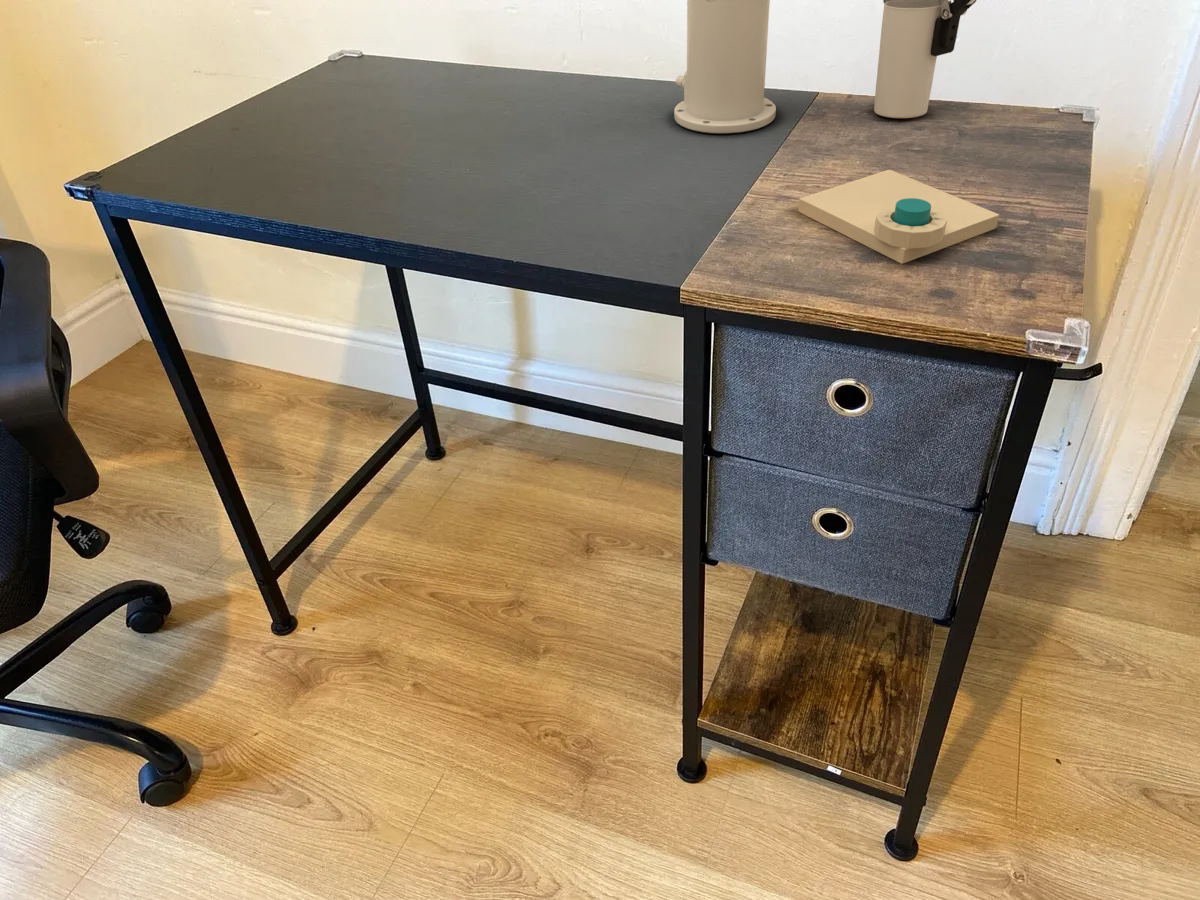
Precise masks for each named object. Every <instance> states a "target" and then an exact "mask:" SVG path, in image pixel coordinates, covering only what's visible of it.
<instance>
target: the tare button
mask: <svg viewBox="0 0 1200 900" xmlns="http://www.w3.org/2000/svg"><path fill="white" fill-rule="evenodd" d="M930 211H931V204H930V203H929V202H927V201H925V200H922V199H916V198H907V199H902V200H899V201H898V202H897V203H896V207H895V213H894V219H893V220H894V222H896V223H898V224H900V225H906V226H912V227H913V226H924V225H926V224H928V222H929V217H930Z"/></svg>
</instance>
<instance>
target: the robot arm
mask: <svg viewBox="0 0 1200 900" xmlns="http://www.w3.org/2000/svg"><path fill="white" fill-rule="evenodd" d="M888 1H892V0H882V3H883V5H884V4H885V3H886V2H888ZM770 2H771V0H686V71H685V72H684V74H683V75H678V76H677V77H676V79H675V85H676V86H677V87H679V88H681V89H683V100H682V101H680V102H678V103H677V105H675V107H674V109H673V115H674V116H673V118H674V120H675V122H676V123H677V124H678V125H680V126H681V127H683V128H685V129H687V130H691V131H695V132H699V133H705V134H706V133H707V134H738V133H745V132H750V131H755V130H758V129H761V128H764V127H765V126H767V125H769V124H771V123H772V122H774V120H775V118H776V113H777V107H776V104H775V103H774V102H773V101H772V100H770V99H768V98H767V97H765V87H766V86H765V85H766V72H767V71H766V69H767V57H768V56H767V53H768V36H769V22H770V21H769V18H770V5H771V4H770ZM976 2H977V0H939V5H940V11H941V16H942V17H940V18H937V19H936V22H935V27H934V33H933V39H932V46H931V55H933V56H937V57H938V56H942V55H947V54H950V53H952V52H953V51H954V50H955V45H956V41H957V36H958V32H959V31H958V30H959V26H960V20H961V16H965V15H966V13H967V11H968V10H969V9H970V8H971V7H972V6H973V5H974V4H975V3H976Z"/></svg>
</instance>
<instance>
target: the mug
mask: <svg viewBox="0 0 1200 900" xmlns="http://www.w3.org/2000/svg"><path fill="white" fill-rule="evenodd" d="M940 17H942V16H941V11H940V5H939V0H892V1H888V2H886V3H885V4H884V3H883V11H882V18H881V29H880V30H881V31H880V40H879V50H878V62H877V73H876V82H875V92H874V106H873V108H874V109H873V111H874V114H876V115H878V116H881V117H884V118H891V119H911V118H919V117H921V116H924V115H925V114H926V113H928V109H929V103H930V98H931V94H932V93H931V92H932V86H933V83H934V82H933V81H934V75H935V69H936V63H937V58H938V56H933V55H931V46H932V39H933V33H934V27H935V22H936V19H937V18H940Z"/></svg>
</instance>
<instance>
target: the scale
mask: <svg viewBox="0 0 1200 900" xmlns="http://www.w3.org/2000/svg"><path fill="white" fill-rule="evenodd" d="M907 198H916V199H922V200H925V201H927V202H929V203H930V204H931V211H930V217H929V222H928V224H926V225H924V226H913V227H912V226H906V225H900V224H898V223H896V222H894V220H893V219H894V213H895V207H896V203H897V202H898V201H899V200H902V199H907ZM797 211H798V213H800V214H802V215H804V216H806V217H808V218H809V219H812V220H814V221H816V222H818V223H820V224H822V225H823V226H826V227H827V228H830V229H832V230H834V231H835V232H837V233H839V234H842V235H844V236H846V237H847V238H850V239H852V240H854V241H855V242H857V243H859V244H862V245H863V246H866V247H867V248H869V249H871V250H873V251H876V252H877V253H880V254H881V255H884V256H885V257H887V258H890V259H891V260H893V261H895V262H897V263H899V264H902V265H903V264H906V263H909V262H911V261H914V260H916V259H918V258H919V259H920V258H921V257H924V256H927V255H930V254H932V253H935V252H938V251H940V250H942V249H945V248H948V247H951V246H954V245H957V244H959V243H961V242H963V241H967V240H969V239H972V238H975V237H977V236H980V235H983V234H985V233H987V232H990V231H993V230H996V229H997V227H998V222H999V218H1000V213H997V212H994V211H992V210H989V209H987V208H985V207H982V206H980V205H978V204H975V203H972V202H970V201H967V200H965V199H963V198H961V197H957V196H956V195H952V194H950V193H947V192H945V191H943V190H940V189H938V188H935V187H933V186H930V185H928V184H926V183H924V182H921V181H919V180H916V179H913V178H911V177H909V176H906V175H904V174H902V173H899V172H896V171H895V170H892V169H887V170H884V171H880V172H877V173H874V174H871V175H868V176H865V177H862V178H859V179H855V180H852V181H849V182H846V183H842V184H840V185H837V186H834V187H830V188H828V189H824V190H822V191H818V192H815V193H812V194H808V195H806V196H802V197H799V198H798V208H797Z"/></svg>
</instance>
